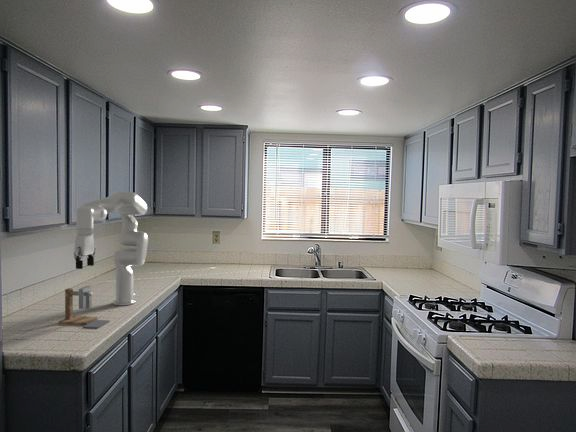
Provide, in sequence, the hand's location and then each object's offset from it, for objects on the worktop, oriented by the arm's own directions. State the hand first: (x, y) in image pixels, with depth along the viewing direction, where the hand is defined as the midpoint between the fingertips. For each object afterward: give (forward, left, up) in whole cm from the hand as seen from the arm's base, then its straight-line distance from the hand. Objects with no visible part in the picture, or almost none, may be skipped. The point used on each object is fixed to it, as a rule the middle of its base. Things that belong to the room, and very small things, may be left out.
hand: (85, 267), depth 207 cm
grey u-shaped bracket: (0, 0, -21) cm, 21 cm away
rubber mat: (+3, +8, -27) cm, 29 cm away
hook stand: (0, -3, -27) cm, 28 cm away
